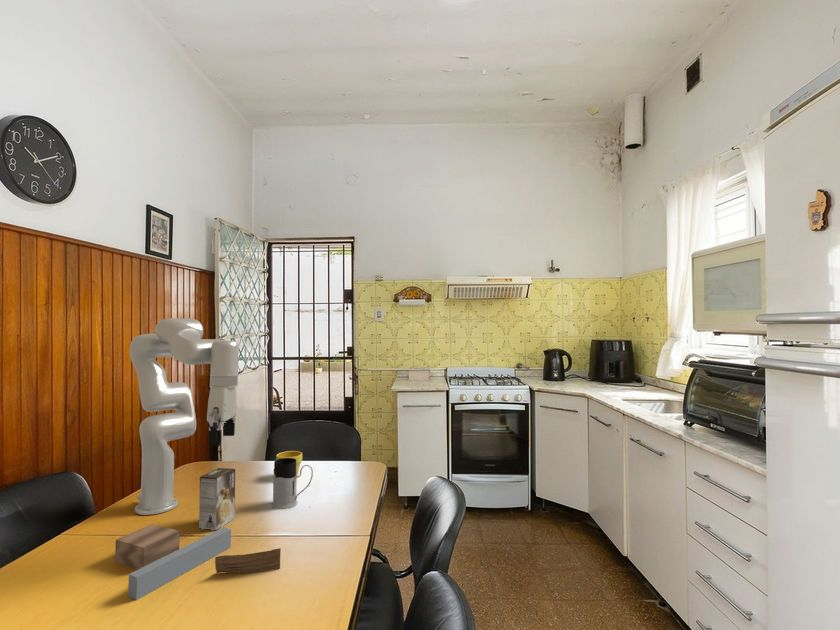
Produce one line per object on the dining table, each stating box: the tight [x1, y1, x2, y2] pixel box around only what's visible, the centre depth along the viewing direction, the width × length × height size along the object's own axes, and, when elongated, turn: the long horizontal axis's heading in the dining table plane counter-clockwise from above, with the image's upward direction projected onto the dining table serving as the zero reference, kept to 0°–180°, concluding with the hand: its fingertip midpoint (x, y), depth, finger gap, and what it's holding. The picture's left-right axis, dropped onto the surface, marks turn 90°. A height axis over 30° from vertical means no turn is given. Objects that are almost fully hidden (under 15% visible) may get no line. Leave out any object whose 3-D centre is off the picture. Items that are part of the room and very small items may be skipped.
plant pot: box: [275, 450, 303, 476], centre depth 177 cm, size 10×10×10 cm
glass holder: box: [271, 458, 314, 510], centre depth 150 cm, size 9×14×15 cm, turn 88°
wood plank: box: [214, 548, 282, 574], centre depth 107 cm, size 15×2×5 cm, turn 104°
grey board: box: [127, 526, 232, 601], centre depth 108 cm, size 3×26×5 cm, turn 156°
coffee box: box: [198, 467, 236, 531], centre depth 134 cm, size 9×6×16 cm
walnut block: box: [114, 523, 181, 570], centre depth 114 cm, size 11×10×6 cm
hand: (222, 439), depth 126 cm, fingers open, 9 cm apart
